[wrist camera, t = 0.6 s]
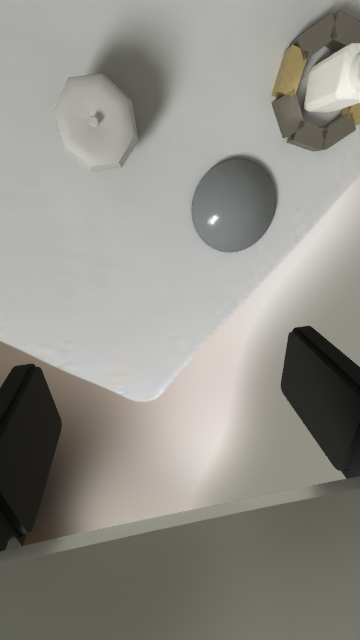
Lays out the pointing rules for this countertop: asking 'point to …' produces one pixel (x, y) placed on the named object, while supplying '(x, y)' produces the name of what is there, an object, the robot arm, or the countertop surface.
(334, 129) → the collar
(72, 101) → the octagonal pegged knob
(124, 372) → the countertop surface
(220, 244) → the gray glossy dome
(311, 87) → the salt shaker
